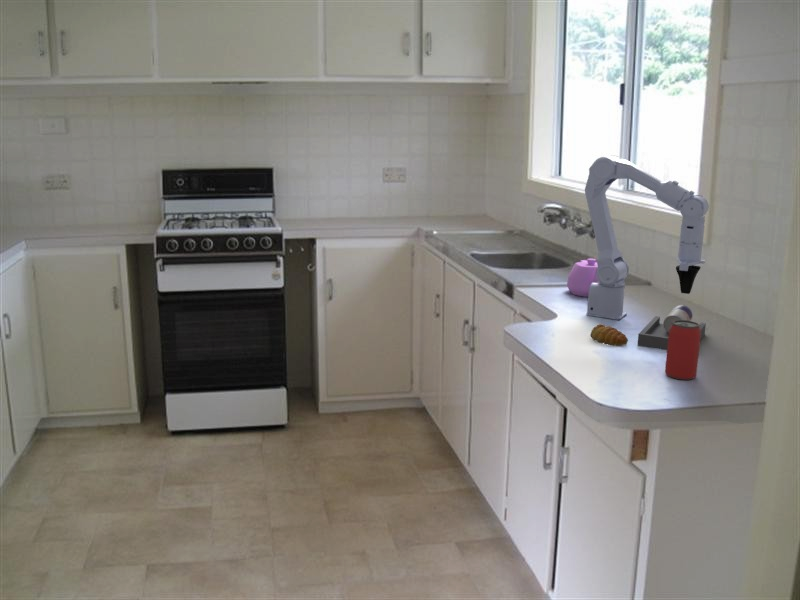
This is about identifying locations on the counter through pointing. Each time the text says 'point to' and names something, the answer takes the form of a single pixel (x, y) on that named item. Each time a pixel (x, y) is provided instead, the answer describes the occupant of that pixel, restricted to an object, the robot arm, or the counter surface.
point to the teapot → (582, 277)
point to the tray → (658, 335)
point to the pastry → (608, 335)
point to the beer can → (683, 350)
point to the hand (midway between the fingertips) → (685, 293)
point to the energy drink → (677, 316)
